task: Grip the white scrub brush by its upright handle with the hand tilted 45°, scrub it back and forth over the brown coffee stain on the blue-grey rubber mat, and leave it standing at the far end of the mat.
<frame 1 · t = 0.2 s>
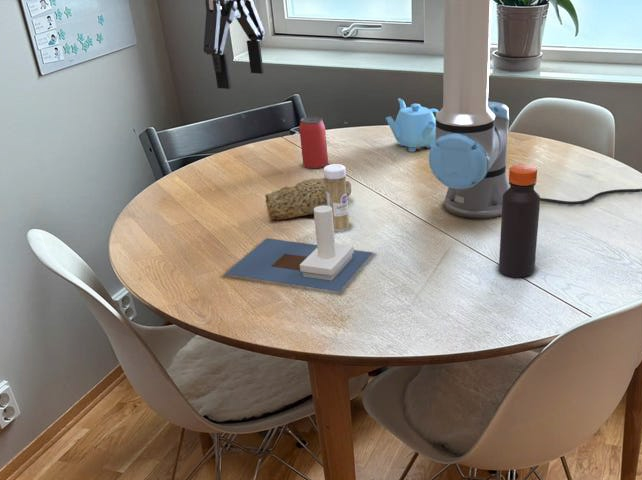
hand: (241, 80, 153), 28 cm above the table, tool pointing down, fingers open, 13 cm apart
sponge: (311, 211, 165), on the table
sprinkles bottle: (339, 228, 157), on the table
vinegar: (516, 271, 139), on the table
beer can: (315, 166, 191), on the table
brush: (328, 267, 140), resting on mat
mat: (300, 265, 142), on the table
teapot: (414, 146, 202), on the table
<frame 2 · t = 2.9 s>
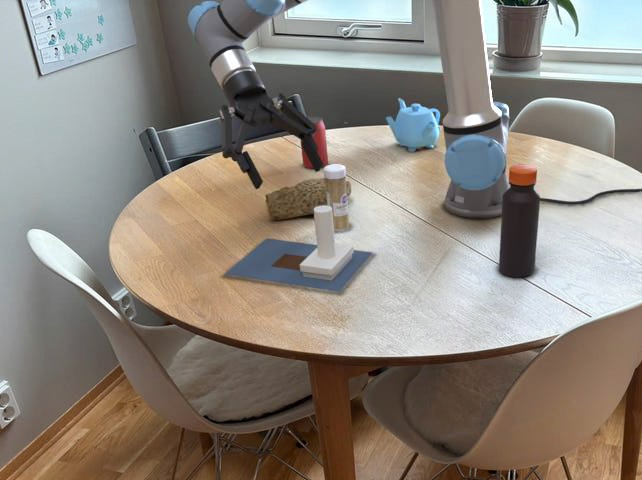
hand: (290, 176, 138), 16 cm above the table, tool tilted 45°, fingers open, 13 cm apart
nothing on the table moved.
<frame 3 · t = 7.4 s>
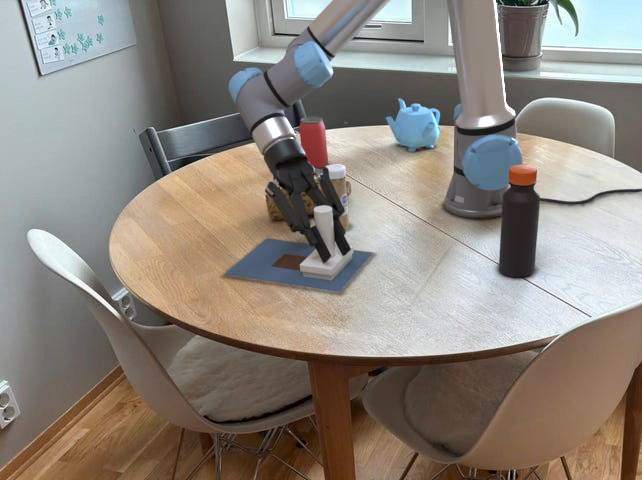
hand: (337, 255, 136), 4 cm above the table, tool tilted 45°, fingers closed on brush, 4 cm apart
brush: (328, 267, 140), resting on mat, touching gripper
everything else where it was.
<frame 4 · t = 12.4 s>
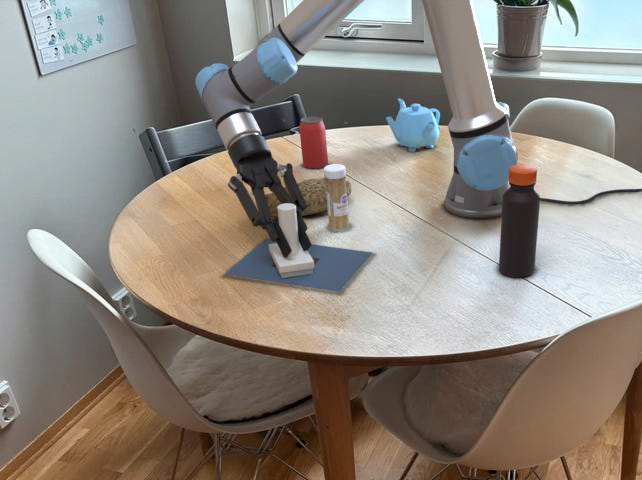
hand: (297, 250, 138), 4 cm above the table, tool tilted 45°, fingers closed on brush, 4 cm apart
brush: (291, 264, 141), point 1 cm above the table, touching gripper
everything else where it was.
when the fingers open (4 cm above the table, at t = 17.6 s): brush stays where it is, resting on mat.
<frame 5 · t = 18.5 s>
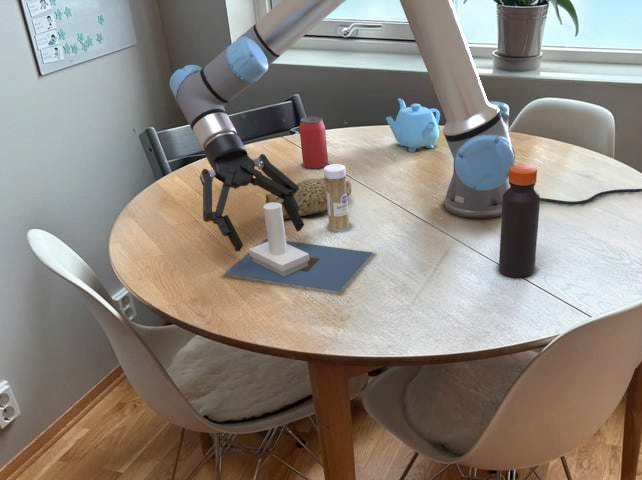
hand: (271, 238, 140), 6 cm above the table, tool tilted 45°, fingers open, 13 cm apart
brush: (280, 263, 142), point 1 cm above the table, touching mat
everything else where it was.
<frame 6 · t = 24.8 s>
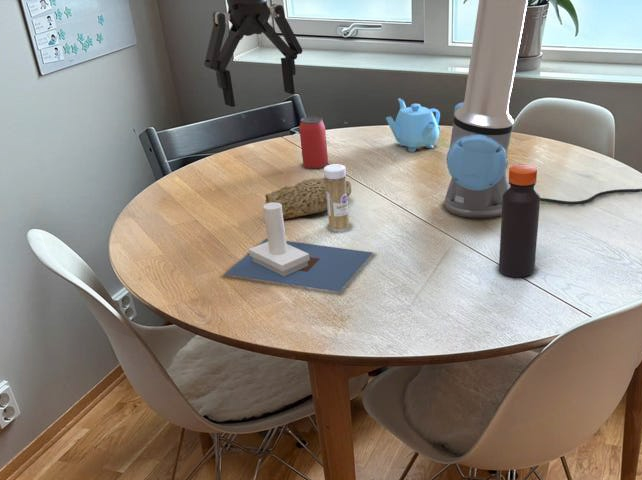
hand: (260, 99, 144), 27 cm above the table, tool pointing down, fingers open, 13 cm apart
nothing on the table moved.
at the end: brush inside the target area on the mat (3.5 cm from its centre), point 0.5 cm above the mat's base; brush tilted 0°; the gripper is holding nothing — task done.
